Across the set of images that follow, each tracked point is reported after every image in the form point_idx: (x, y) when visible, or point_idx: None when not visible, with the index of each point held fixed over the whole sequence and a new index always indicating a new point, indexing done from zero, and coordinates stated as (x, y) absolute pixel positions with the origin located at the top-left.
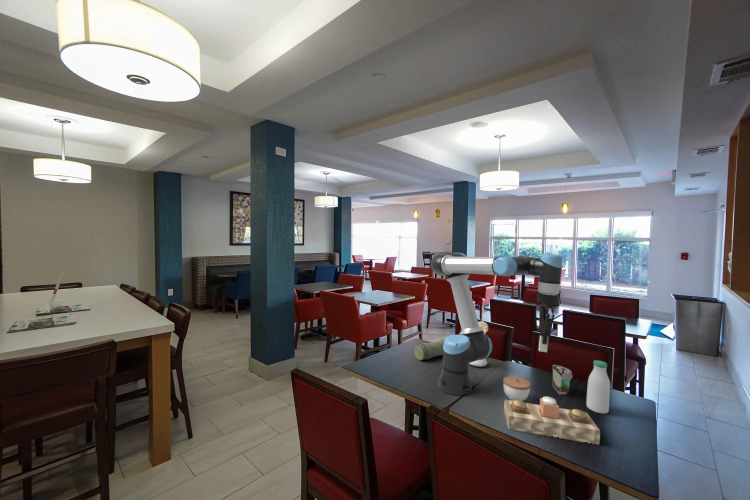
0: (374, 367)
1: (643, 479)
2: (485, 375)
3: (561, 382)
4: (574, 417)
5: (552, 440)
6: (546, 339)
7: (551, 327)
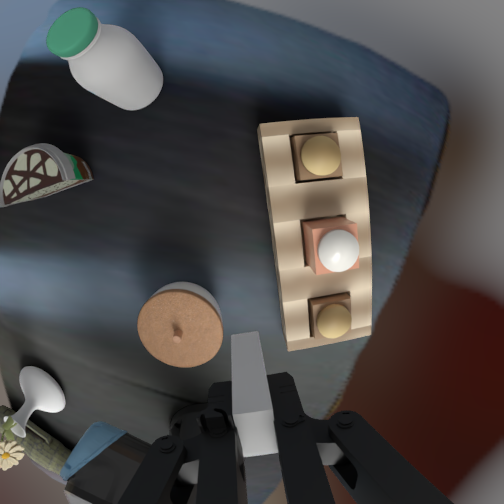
0: None
1: (421, 86)
2: (90, 372)
3: (76, 178)
4: (341, 173)
5: (370, 229)
6: (300, 403)
7: (423, 478)
